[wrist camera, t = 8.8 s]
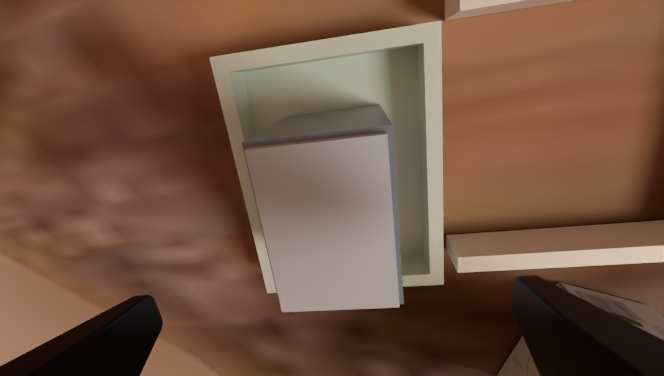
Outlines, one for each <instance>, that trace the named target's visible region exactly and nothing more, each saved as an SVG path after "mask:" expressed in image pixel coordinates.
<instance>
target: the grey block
mask: <svg viewBox="0 0 664 376" xmlns="http://www.w3.org/2000/svg"><path fill="white" fill-rule="evenodd" d="M242 147H243V151H244V155H245V159H246V164H247V168H248V172H249V176H250V181H251V185H252V189H253V193H254V198H255V202H256V206H257V211H258V215H259V219H260V223H261V228H262V232H263V236H264V240H265V245H266V249H267V253H268V257H269V262H270V266H271V270H272V275H273V279H274V283H275V287H276V292H277V296H278V300H279V304H280V309H281V310H282V312H300V311H325V310H350V309H374V308H399V307H400V304H404V296H403V281H402V265H401V250H400V235H399V219H398V204H397V188H396V173H395V157H394V142H393V126H392V123H391V122H390V120H389V118H388V117H387V115H386V113H385V112H384V110H383V109H382V107H381V105H380V104H378V105H371V106H363V107H355V108H347V109H339V110H331V111H323V112H315V113H308V114H300V115H292V116H287V117H286V118H284V119H282V120H280V121H278V122H277V123H275V124H273V125H271V126H270V127H268V128H266V129H264V130H263V131H261V132H259V133H257V134H256V135H254V136H252V137H250V138H248V139H247V140H245V141H243V142H242Z"/></svg>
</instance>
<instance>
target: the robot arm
mask: <svg viewBox="0 0 664 376" xmlns="http://www.w3.org/2000/svg"><path fill="white" fill-rule="evenodd" d="M512 309H513V314H514V317H515V319H516V321H517V324H518V326H519V328H520V331H521V333H522V335H523V338H524V340H525V342H526V345H527V347H528V349H529V352H530V354H531V356H532V359H533V361H534V363H535V366H536V368H537V370H538V372H539V375H540V376H664V340H662V339H661V338H659V337H657V336H655V335H653V334H651V333H649V332H647V331H645V330H643V329H641V328H639V327H637V326H635V325H633V324H631V323H629V322H627V321H625V320H623V319H621V318H619V317H617V316H615V315H613V314H611V313H609V312H607V311H605V310H603V309H601V308H600V307H598V306H596V305H594V304H592V303H590V302H588V301H586V300H584V299H582V298H580V297H578V296H576V295H574V294H572V293H570V292H568V291H566V290H564V289H562V288H560V287H558V286H556V285H554V284H552V283H550V282H548V281H546V280H544V279H542V278H541V277H538V276H535V275H531V276H518V277H516V278H515V281H514V290H513V302H512ZM162 324H163V321H162V317H161V314H160V312H159V309H158V307H157V304H156V302H155V299H154V298H153V297H152V296H150V295H138V296H133V297H131V298H129V299H128V300H126V301H124V302H122V303H120V304H118V305H116V306H114V307H112V308H110V309H109V310H107V311H105V312H103V313H101V314H99V315H97V316H95V317H94V318H91V319H90V320H88V321H86V322H84V323H82V324H80V325H78V326H76V327H74V328H73V329H71V330H69V331H67V332H65V333H63V334H61V335H59V336H57V337H55V338H53V339H52V340H50V341H48V342H46V343H44V344H42V345H40V346H39V347H36V348H34V349H33V350H31V351H29V352H27V353H25V354H23V355H21V356H19V357H18V358H15V359H13V360H12V361H10V362H8V363H6V364H4V365H2V366H0V376H140V373H141V372H142V369H143V367H144V365H145V363H146V361H147V359H148V357H149V355H150V352H151V350H152V348H153V346H154V344H155V342H156V340H157V337H158V335H159V333H160V331H161V329H162Z"/></svg>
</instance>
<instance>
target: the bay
mask: <svg viewBox="0 0 664 376" xmlns="http://www.w3.org/2000/svg"><path fill="white" fill-rule="evenodd" d="M568 1H574V0H445V21H447V20H453V19H459V18H466V17H472V16H479V15H485V14H491V13H498V12H504V11H510V10H517V9H523V8H529V7H536V6H542V5H548V4H555V3H561V2H568ZM446 250H447V252H448V254H449V256H450V258H451V260H452V262H453V264H454V266H455V268H456V271H457V273H465V272H484V271H503V270H521V269H540V268H559V267H577V266H596V265H615V264H634V263H652V262H664V220H658V221H644V222H629V223H615V224H600V225H586V226H571V227H557V228H543V229H528V230H514V231H499V232H485V233H470V234H456V235H446Z"/></svg>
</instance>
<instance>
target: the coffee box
mask: <svg viewBox="0 0 664 376" xmlns="http://www.w3.org/2000/svg"><path fill="white" fill-rule="evenodd" d="M556 286H558V287H560V288H562V289H564V290H566V291H568V292H570V293H572V294H574V295H576V296H578V297H580V298H582V299H584V300H586V301H588V302H590V303H592V304H594V305H596V306H598V307H600V308H601V309H603V310H605V311H607V312H609V313H611V314H613V315H615V316H617V317H619V318H621V319H623V320H625V321H627V322H629V323H631V324H633V325H635V326H637V327H639V328H641V329H643V330H645V331H647V332H649V333H651V334H653V335H655V336H657V337H659V338H661V339H662V340H664V317H662V316H661V315H660V314H658V313H657V312H656V311H655V310H653V309H652V308H651V307H649V306H647V305H645V304H642V303H638V302H634V301H630V300H626V299H622V298H619V297H615V296H611V295H607V294H603V293H600V292H596V291H592V290H588V289H584V288H580V287H576V286H572V285H569V284H565V283H557V284H556ZM497 376H540V375H539V372H538V370H537V368H536V366H535V363H534V361H533V359H532V356H531V354H530V352H529V349H528V347H527V345H526V342H525V340H524V338H523V336H522V337H521V339H520V340H519V342H518V343H517V345H516V346H515V348H514V350H513V351H512V353H511V354H510V356H509V357H508V359H507V360H506V362H505V364H504V365H503V367H502V368H501V370H500V371H499V373H498V374H497Z"/></svg>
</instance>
